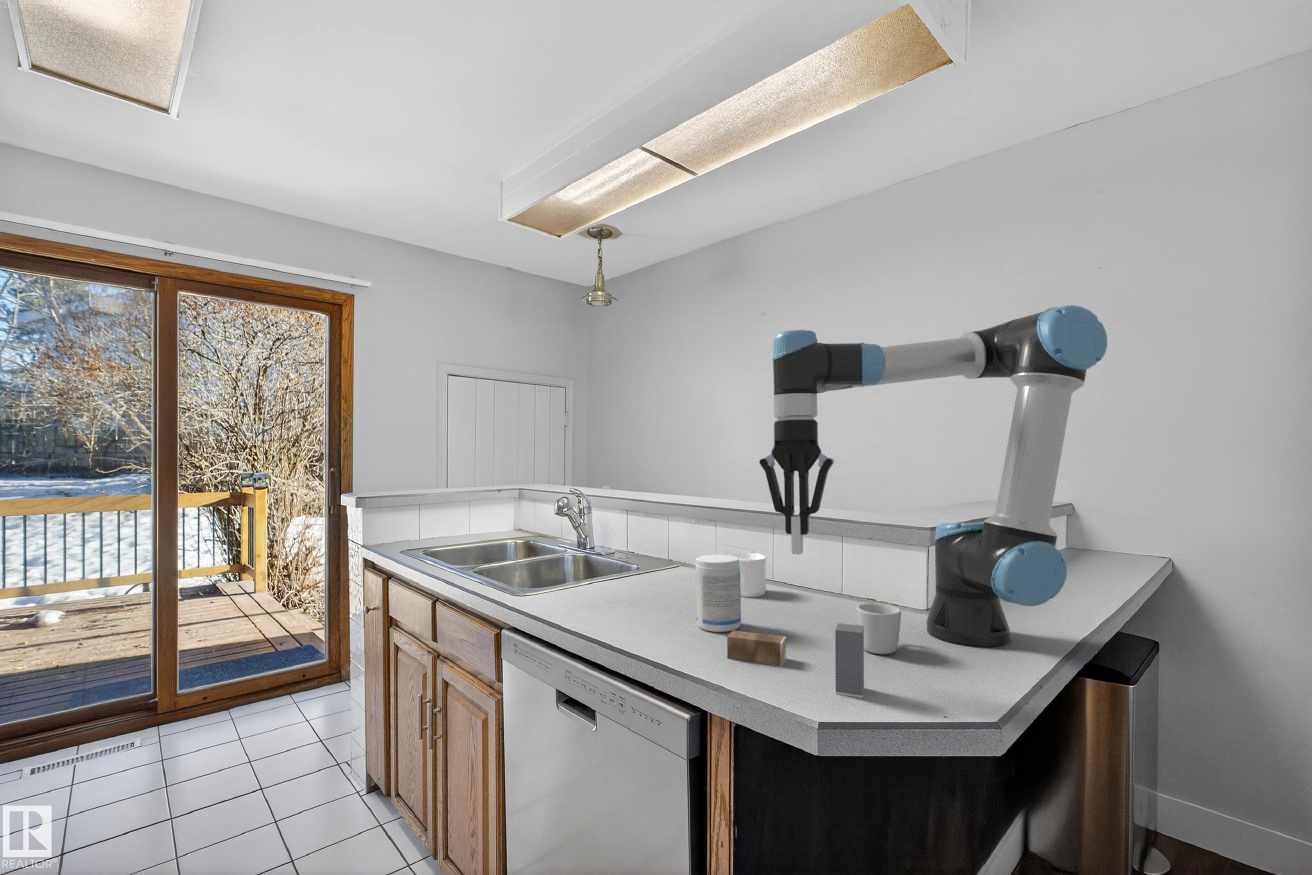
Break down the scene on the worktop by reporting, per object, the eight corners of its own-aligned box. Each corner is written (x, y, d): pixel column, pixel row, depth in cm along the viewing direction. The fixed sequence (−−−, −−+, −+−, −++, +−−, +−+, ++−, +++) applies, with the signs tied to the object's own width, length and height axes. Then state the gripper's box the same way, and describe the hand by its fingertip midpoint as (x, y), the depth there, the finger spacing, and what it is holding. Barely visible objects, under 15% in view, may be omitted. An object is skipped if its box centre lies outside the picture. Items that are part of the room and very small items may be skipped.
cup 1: (731, 597, 156) (731, 559, 156) (728, 588, 166) (727, 552, 166) (768, 598, 155) (768, 559, 155) (763, 588, 165) (763, 552, 165)
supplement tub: (750, 628, 130) (749, 559, 130) (715, 636, 125) (715, 564, 125) (721, 617, 138) (720, 552, 138) (687, 624, 133) (686, 556, 133)
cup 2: (871, 637, 124) (870, 597, 124) (911, 645, 119) (911, 604, 119) (850, 651, 115) (850, 609, 115) (893, 661, 110) (892, 616, 110)
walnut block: (785, 636, 112) (732, 630, 116) (781, 643, 108) (727, 636, 112) (786, 658, 112) (733, 651, 116) (782, 665, 108) (727, 658, 112)
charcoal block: (863, 687, 98) (863, 625, 98) (862, 697, 95) (862, 632, 95) (838, 684, 100) (837, 622, 100) (835, 693, 96) (835, 629, 96)
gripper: (836, 418, 109) (838, 551, 109) (764, 420, 114) (765, 547, 114) (830, 417, 102) (832, 559, 102) (754, 419, 107) (755, 554, 107)
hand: (797, 552), depth 108 cm, fingers closed
